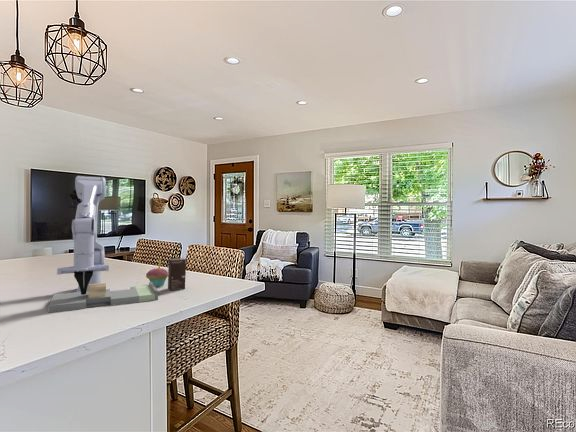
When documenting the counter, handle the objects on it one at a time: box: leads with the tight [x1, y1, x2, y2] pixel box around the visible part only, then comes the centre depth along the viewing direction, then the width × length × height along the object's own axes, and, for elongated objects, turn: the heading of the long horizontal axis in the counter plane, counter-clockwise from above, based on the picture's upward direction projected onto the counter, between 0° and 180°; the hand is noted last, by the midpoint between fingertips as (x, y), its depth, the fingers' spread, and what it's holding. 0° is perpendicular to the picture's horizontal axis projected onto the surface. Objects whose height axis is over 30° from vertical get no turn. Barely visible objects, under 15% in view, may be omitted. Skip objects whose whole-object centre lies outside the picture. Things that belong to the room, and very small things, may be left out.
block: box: [88, 282, 107, 298], centre depth 109 cm, size 5×5×4 cm
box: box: [167, 257, 187, 291], centre depth 128 cm, size 6×4×12 cm
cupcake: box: [145, 257, 168, 288], centre depth 133 cm, size 9×8×12 cm
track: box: [47, 281, 159, 313], centre depth 111 cm, size 15×31×3 cm, turn 121°
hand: (83, 293), depth 107 cm, fingers closed
